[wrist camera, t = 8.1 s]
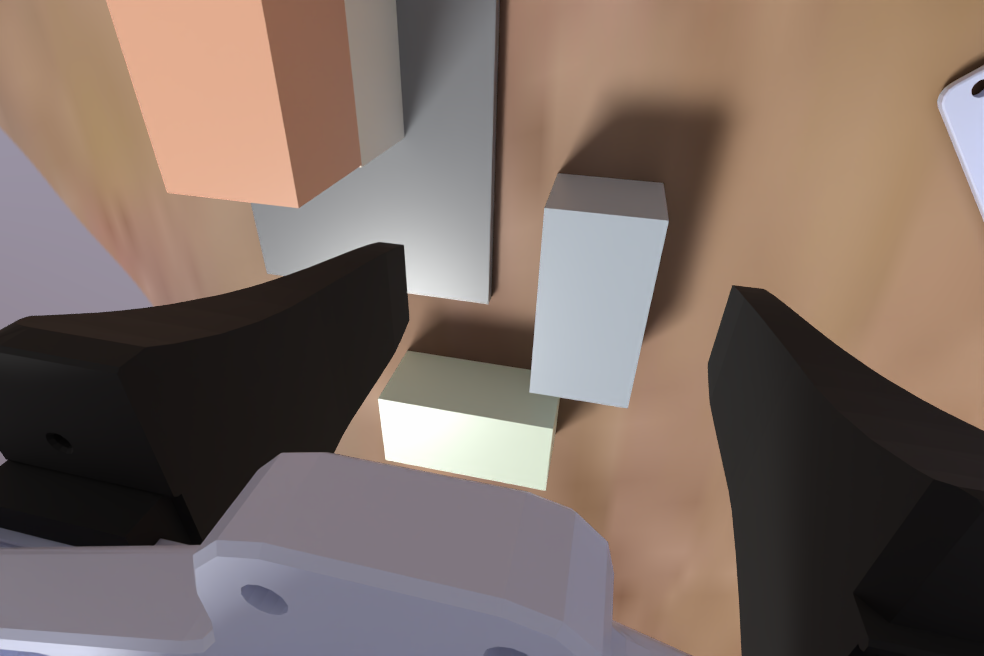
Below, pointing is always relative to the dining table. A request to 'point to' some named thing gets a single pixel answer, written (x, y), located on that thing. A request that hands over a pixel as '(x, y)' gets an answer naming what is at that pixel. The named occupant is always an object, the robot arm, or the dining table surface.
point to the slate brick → (596, 286)
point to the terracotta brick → (243, 95)
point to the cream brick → (375, 74)
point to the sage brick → (468, 419)
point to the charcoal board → (417, 165)
